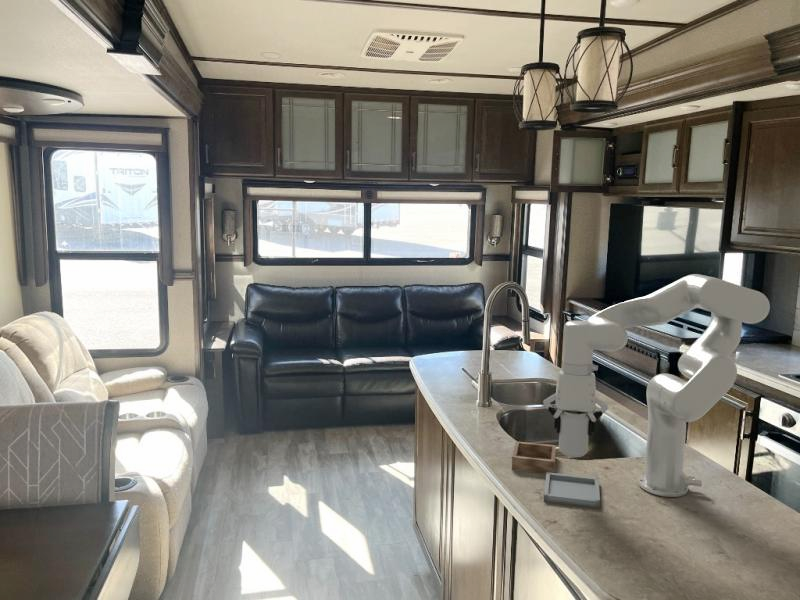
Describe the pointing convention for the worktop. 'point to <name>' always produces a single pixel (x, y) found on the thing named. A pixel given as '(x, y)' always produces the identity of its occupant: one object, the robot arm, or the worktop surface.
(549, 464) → the caddy
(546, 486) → the tray
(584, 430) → the can
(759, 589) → the worktop surface
